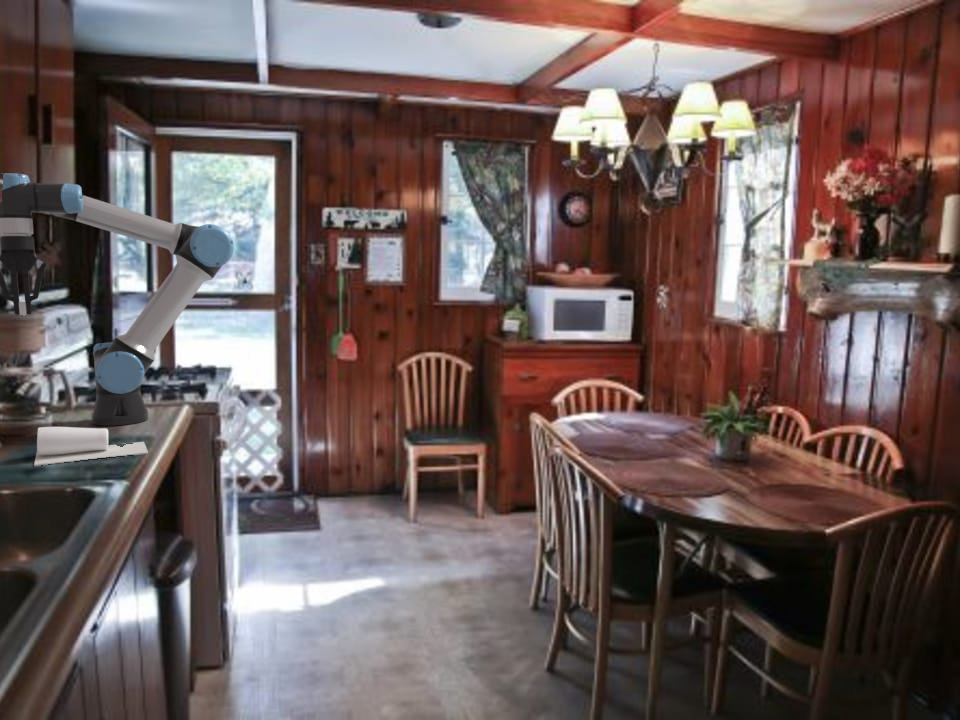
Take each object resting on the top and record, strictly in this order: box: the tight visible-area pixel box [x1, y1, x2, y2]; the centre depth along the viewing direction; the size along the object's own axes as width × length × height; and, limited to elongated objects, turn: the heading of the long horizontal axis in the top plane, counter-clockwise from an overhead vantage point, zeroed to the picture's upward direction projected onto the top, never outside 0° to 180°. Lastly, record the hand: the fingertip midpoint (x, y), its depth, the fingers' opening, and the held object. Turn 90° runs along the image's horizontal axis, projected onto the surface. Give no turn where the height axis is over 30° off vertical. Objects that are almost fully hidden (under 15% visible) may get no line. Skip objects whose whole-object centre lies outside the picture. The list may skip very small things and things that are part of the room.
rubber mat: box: [33, 441, 149, 467], centre depth 190 cm, size 24×13×1 cm, turn 117°
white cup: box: [36, 426, 109, 455], centre depth 189 cm, size 7×7×15 cm
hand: (24, 327), depth 205 cm, fingers closed
